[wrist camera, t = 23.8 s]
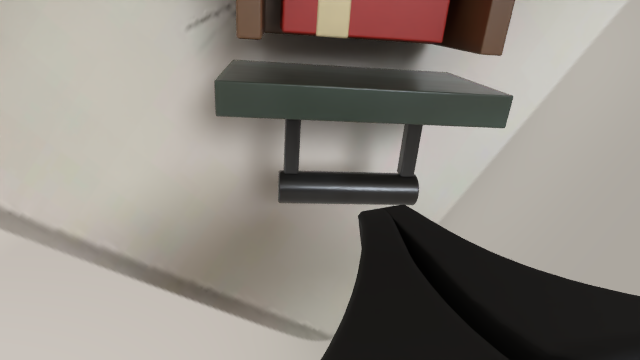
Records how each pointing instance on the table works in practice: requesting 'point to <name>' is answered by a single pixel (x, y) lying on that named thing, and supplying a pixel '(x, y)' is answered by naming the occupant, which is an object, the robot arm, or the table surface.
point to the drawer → (364, 100)
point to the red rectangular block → (367, 19)
